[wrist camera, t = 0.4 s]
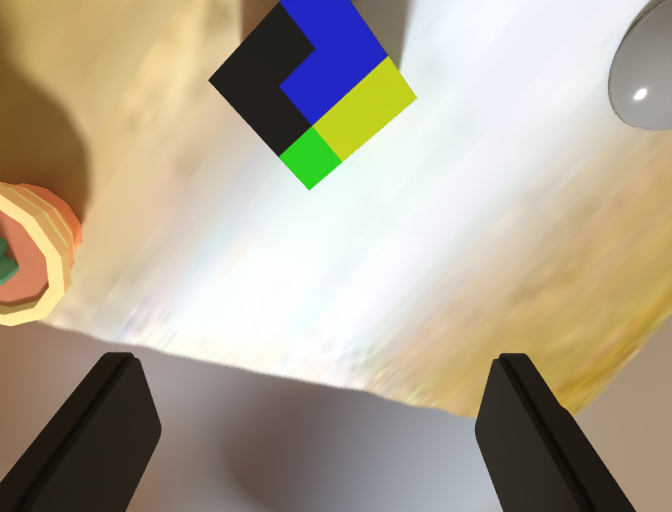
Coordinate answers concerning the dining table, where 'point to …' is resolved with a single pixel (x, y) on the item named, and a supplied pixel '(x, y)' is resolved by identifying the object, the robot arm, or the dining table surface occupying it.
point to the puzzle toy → (313, 84)
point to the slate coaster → (645, 72)
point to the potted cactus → (34, 251)
